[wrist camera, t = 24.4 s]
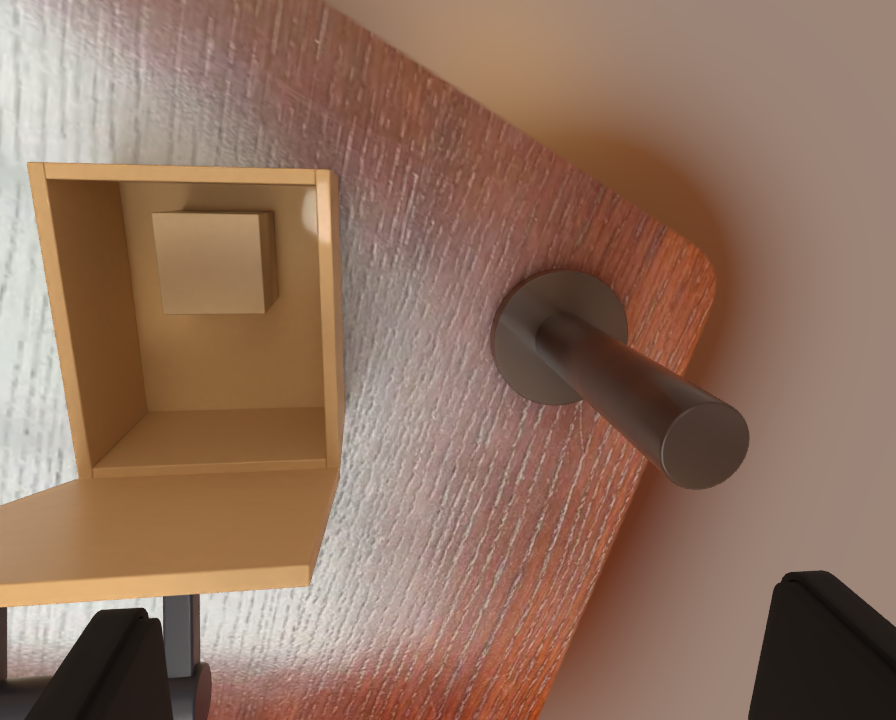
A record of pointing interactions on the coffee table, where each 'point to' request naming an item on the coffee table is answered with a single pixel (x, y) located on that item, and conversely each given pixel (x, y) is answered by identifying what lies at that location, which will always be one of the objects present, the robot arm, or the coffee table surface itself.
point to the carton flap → (159, 555)
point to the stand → (612, 376)
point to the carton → (192, 324)
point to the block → (216, 261)
